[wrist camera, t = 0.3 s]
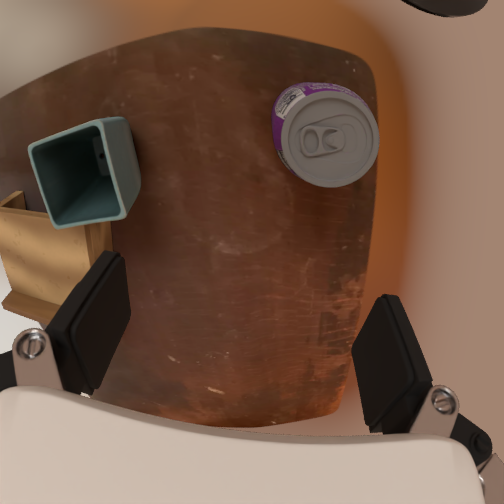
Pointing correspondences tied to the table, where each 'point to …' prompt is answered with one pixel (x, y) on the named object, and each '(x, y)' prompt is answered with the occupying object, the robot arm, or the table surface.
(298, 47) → the table surface
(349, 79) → the table surface
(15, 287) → the wooden block with backrest
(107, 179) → the flower pot
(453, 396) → the robot arm
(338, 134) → the beverage can
